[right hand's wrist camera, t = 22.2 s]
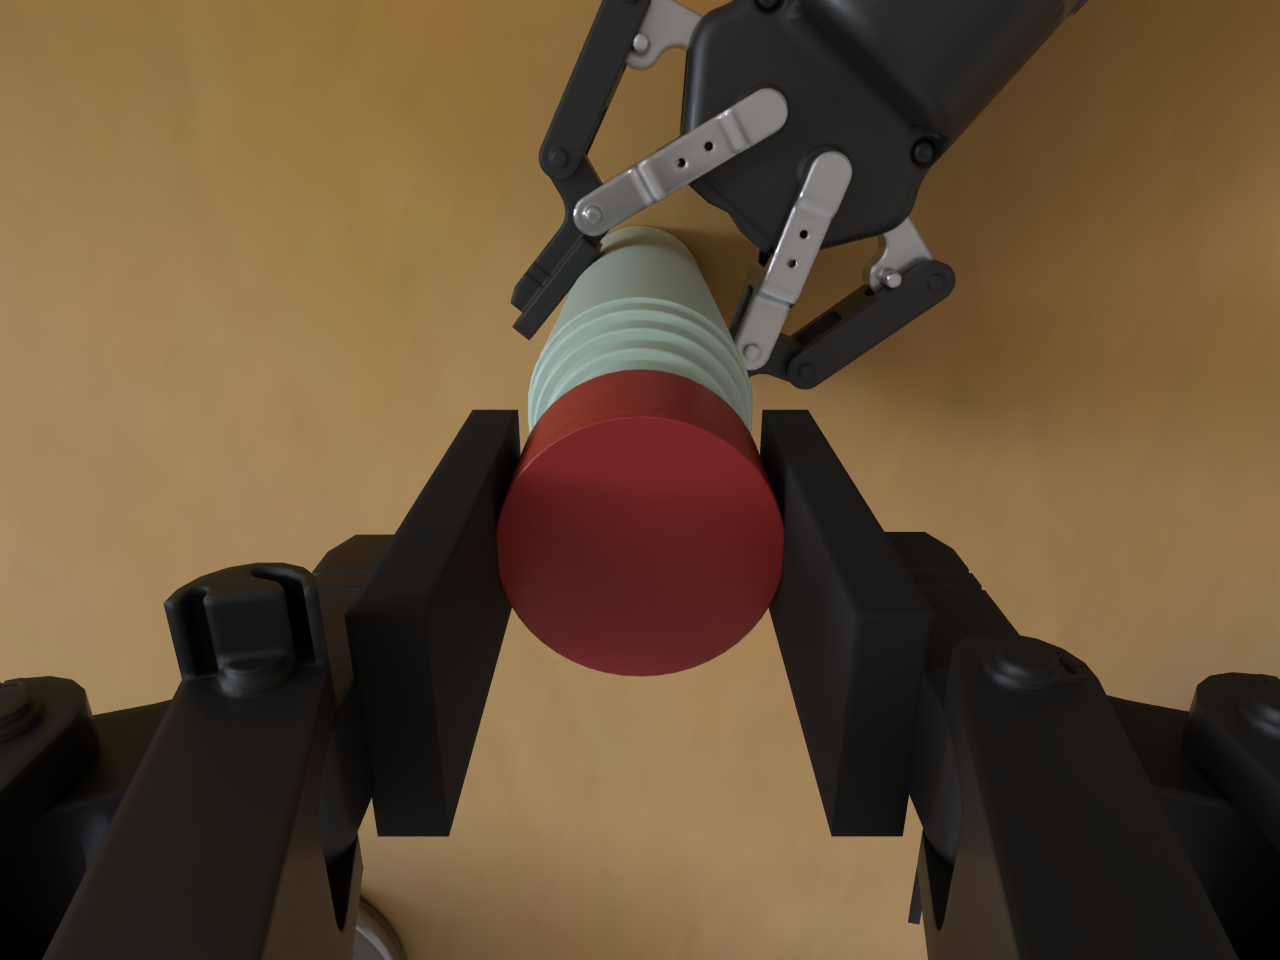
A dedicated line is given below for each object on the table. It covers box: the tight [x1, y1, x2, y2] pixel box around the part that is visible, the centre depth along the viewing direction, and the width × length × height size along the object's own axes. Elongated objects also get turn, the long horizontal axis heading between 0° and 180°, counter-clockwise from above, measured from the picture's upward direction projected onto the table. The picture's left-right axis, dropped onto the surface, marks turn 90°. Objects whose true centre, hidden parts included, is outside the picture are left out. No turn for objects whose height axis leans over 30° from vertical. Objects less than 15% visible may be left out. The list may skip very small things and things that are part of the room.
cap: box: [496, 369, 784, 676], centre depth 13 cm, size 4×4×3 cm
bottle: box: [528, 226, 753, 434], centre depth 23 cm, size 5×5×23 cm
